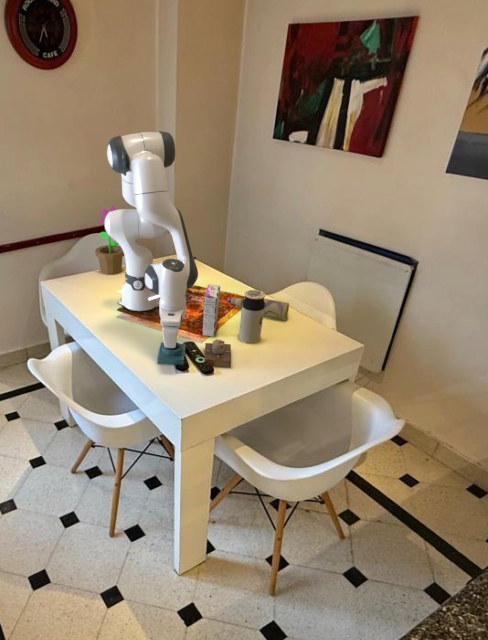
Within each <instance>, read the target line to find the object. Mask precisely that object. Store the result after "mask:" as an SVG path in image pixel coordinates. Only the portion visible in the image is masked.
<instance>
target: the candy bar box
mask: <svg viewBox="0 0 488 640" xmlns="http://www.w3.org/2000/svg"><path fill="white" fill-rule="evenodd" d="M220 295H221V285H219V284H207V286H206V290H205V293H204V296H203V312H202V313H203V314H202V315H203V316H202V331H201V332H202V333H201V334H202V336H203V337H211V338H215V336H216V331H217V328H218V325H219V311H220V310H219V308H220Z"/></svg>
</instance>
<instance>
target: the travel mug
mask: <svg viewBox="0 0 488 640" xmlns="http://www.w3.org/2000/svg"><path fill="white" fill-rule="evenodd" d="M243 295H244V298H243V299H244V300H243V304H242V308H241V313H240V322H239V329H238V330H239V331H238V339H239V340H240V341H242V342H245V343H249V344H251V343H252V344H253V343H257V342H259V341H260V340H261V335H262V334H261V333H262V328H263V327H262V326H263V320H264V315H263V314H264V307H265V301H264V299H265V298H266V293H265V292H264V291H262V290H260V289H248V290H245V292H244V293H243Z"/></svg>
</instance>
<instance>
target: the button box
mask: <svg viewBox="0 0 488 640" xmlns="http://www.w3.org/2000/svg"><path fill="white" fill-rule="evenodd" d="M176 344H177V345H178V349H175V350H169V349H167V348H165V346H164V342H160V346H159V351H158V355H157V364H159V365H174V366H184V365H185V359H186V349H187V343H181V342H177V341H176ZM184 357H185V358H184ZM180 362H184V363H180Z"/></svg>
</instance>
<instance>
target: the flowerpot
mask: <svg viewBox="0 0 488 640" xmlns="http://www.w3.org/2000/svg"><path fill="white" fill-rule="evenodd" d="M114 210H116V207H115V205H114V204H113V205H111V207H110V209H109V211H108V210H107V209H106V208H104V207H101V208H100V211H101V213H102V215H103V216H104V217H101V218H100V219H98V222H99V224H104V223H105V218H106V216H107V214H108V213H109V212H110V211H114ZM98 235H99V236H100V238H102V239H104V240H106V239H107V241H108V244H107V245H101V246H98V247H96V248H95V250H94V253H95V257H96V258H98V262H99V267H100V272H101V273H102V274H105V275H117V274H119V273H122V269H123V257H125V256H124V252H123V250H122V248H121V246H120V245H119V244H118V243H117V242H116V241H115V240H111V237H110V236H109V235H108V234H107V232H106V231H101V232H100V233H98Z"/></svg>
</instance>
